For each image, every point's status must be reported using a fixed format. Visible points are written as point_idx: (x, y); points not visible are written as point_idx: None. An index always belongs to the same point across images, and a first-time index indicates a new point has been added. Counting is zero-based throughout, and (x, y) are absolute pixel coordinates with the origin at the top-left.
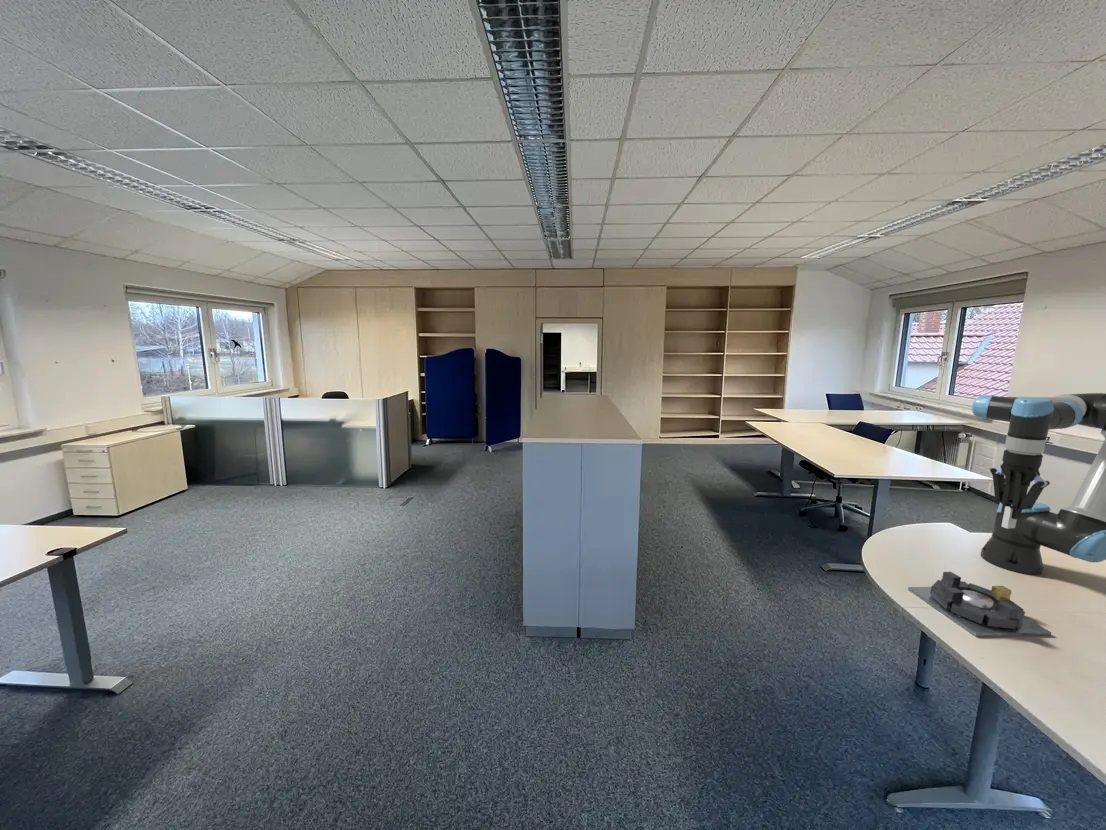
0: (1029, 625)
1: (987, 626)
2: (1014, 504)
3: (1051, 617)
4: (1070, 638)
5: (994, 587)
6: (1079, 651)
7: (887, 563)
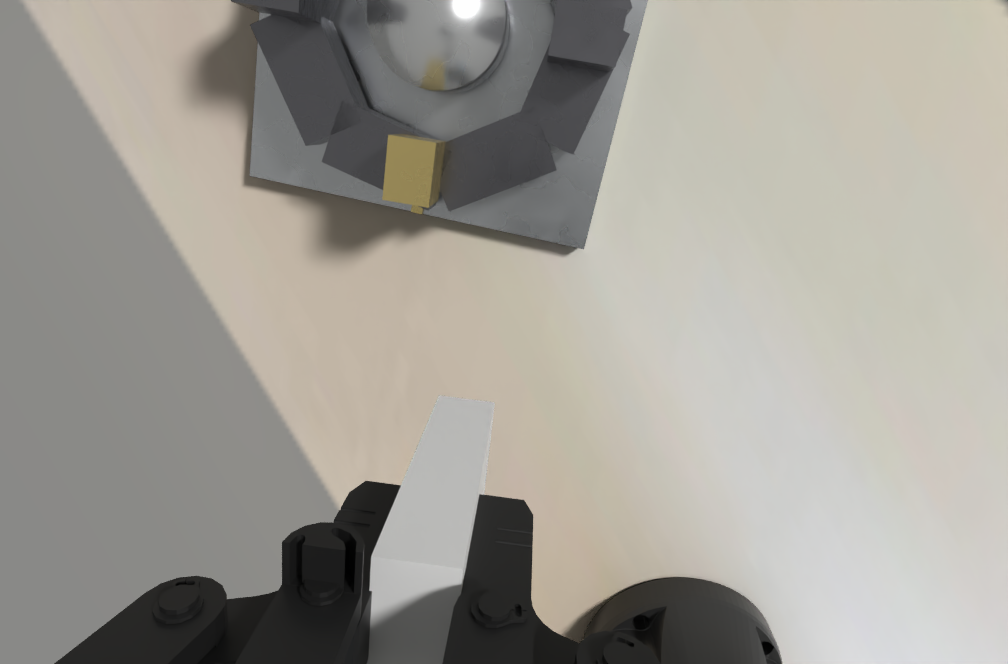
0: (297, 137)
1: None
2: (308, 624)
3: (357, 340)
4: (241, 241)
5: (425, 141)
6: (174, 171)
7: (923, 57)
